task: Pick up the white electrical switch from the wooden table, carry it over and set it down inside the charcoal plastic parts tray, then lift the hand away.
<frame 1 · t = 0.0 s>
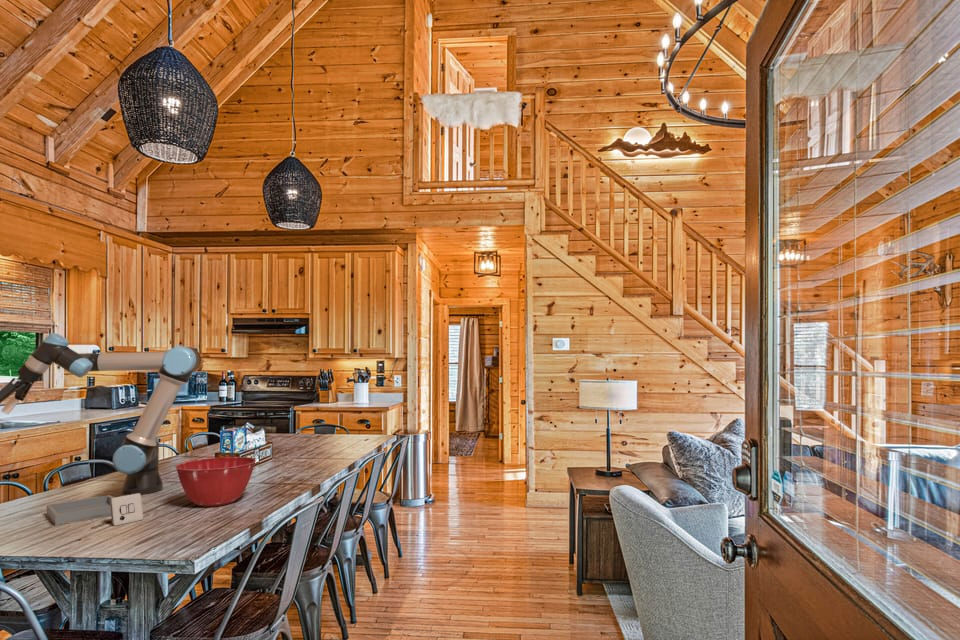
electrical switch: (125, 522, 203), on the table
mixing bowl: (216, 502, 228), on the table
parts tray: (84, 514, 214), on the table
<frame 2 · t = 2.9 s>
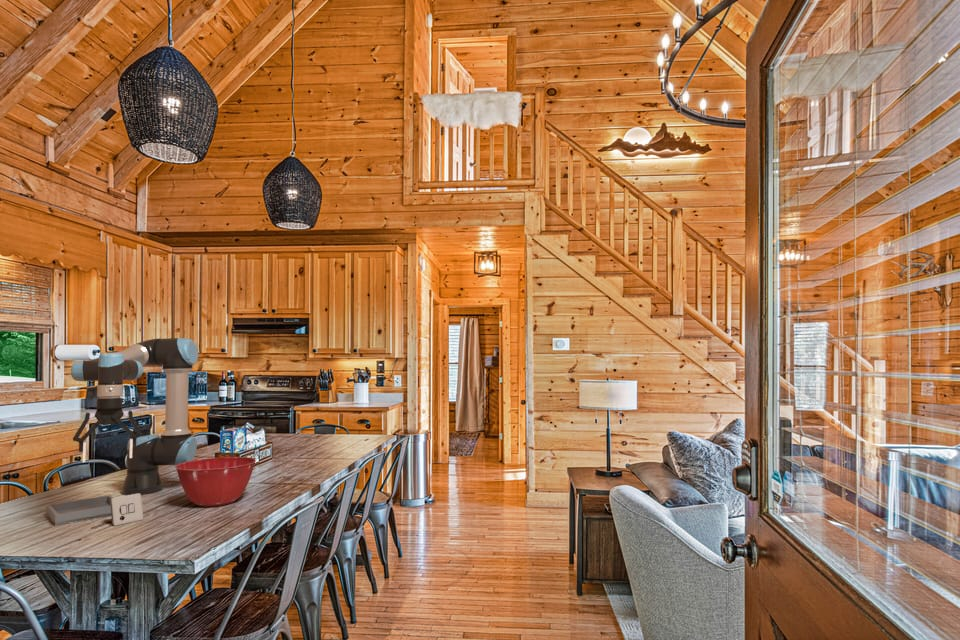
hand: (107, 459, 202), 22 cm above the table, tool pointing down, fingers open, 13 cm apart
nothing on the table moved.
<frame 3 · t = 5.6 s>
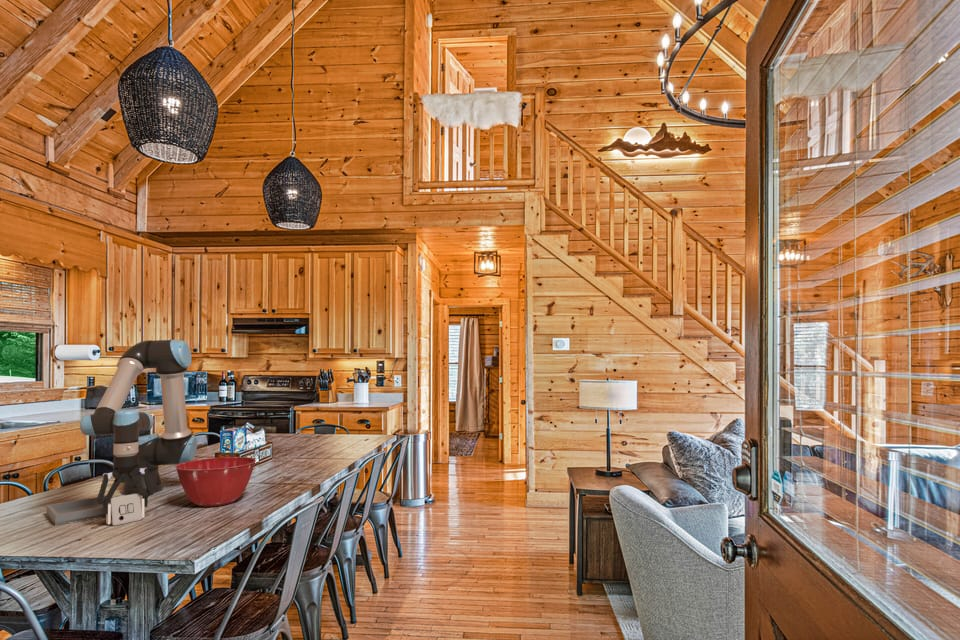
hand: (125, 520, 203), 1 cm above the table, tool pointing down, fingers closed on electrical switch, 9 cm apart
electrical switch: (124, 522, 203), on the table, touching gripper
everything else where it was.
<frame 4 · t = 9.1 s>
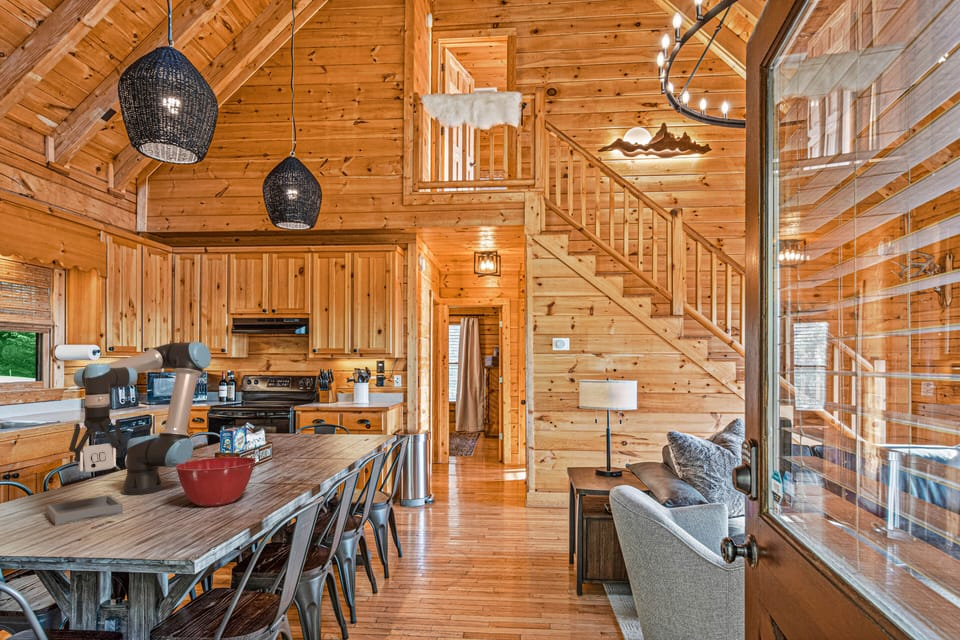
hand: (97, 468, 212), 17 cm above the table, tool pointing down, fingers closed on electrical switch, 9 cm apart
electrical switch: (96, 470, 212), point 16 cm above the table, touching gripper
everything else where it was.
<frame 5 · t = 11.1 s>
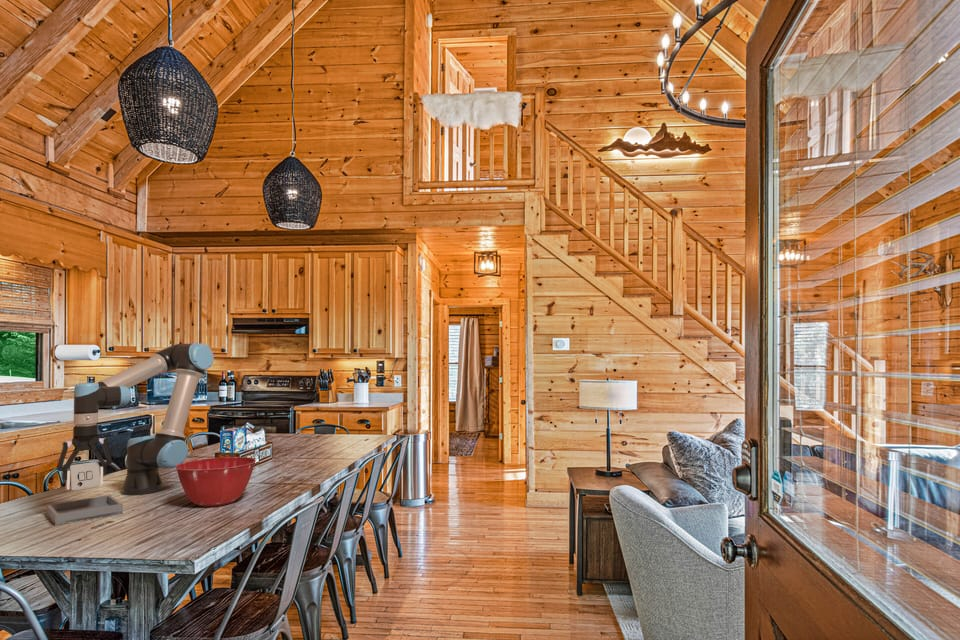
hand: (84, 486, 214), 10 cm above the table, tool pointing down, fingers closed on electrical switch, 9 cm apart
electrical switch: (83, 489, 214), point 9 cm above the table, touching gripper
everything else where it was.
when the fingers open (4 cm above the table, at t = 12.7 s): electrical switch drops 2 cm, resting on parts tray.
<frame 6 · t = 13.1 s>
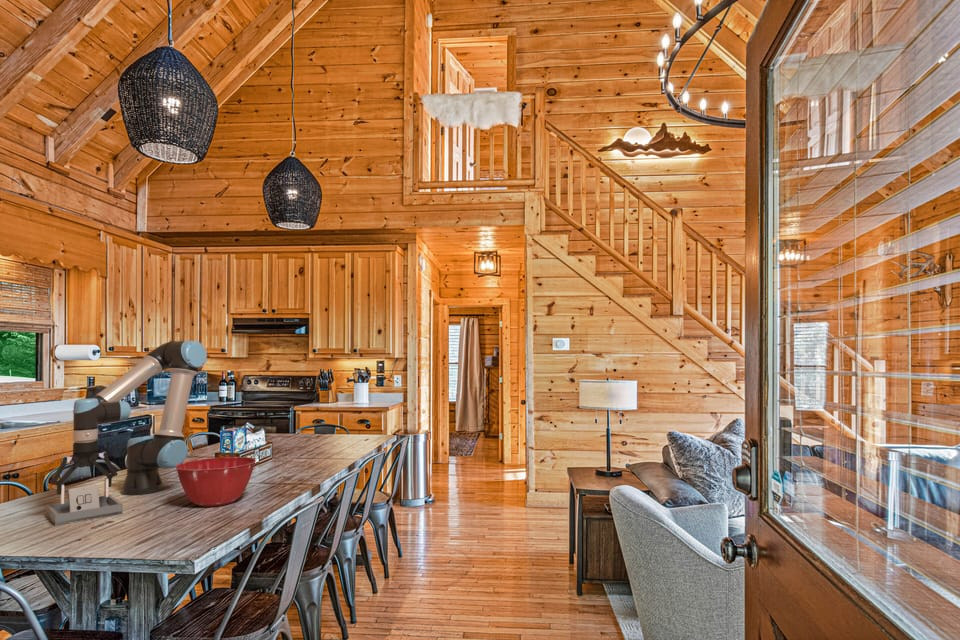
hand: (84, 499, 214), 5 cm above the table, tool pointing down, fingers open, 13 cm apart
electrical switch: (82, 512, 214), point 1 cm above the table, touching parts tray
everything else where it was.
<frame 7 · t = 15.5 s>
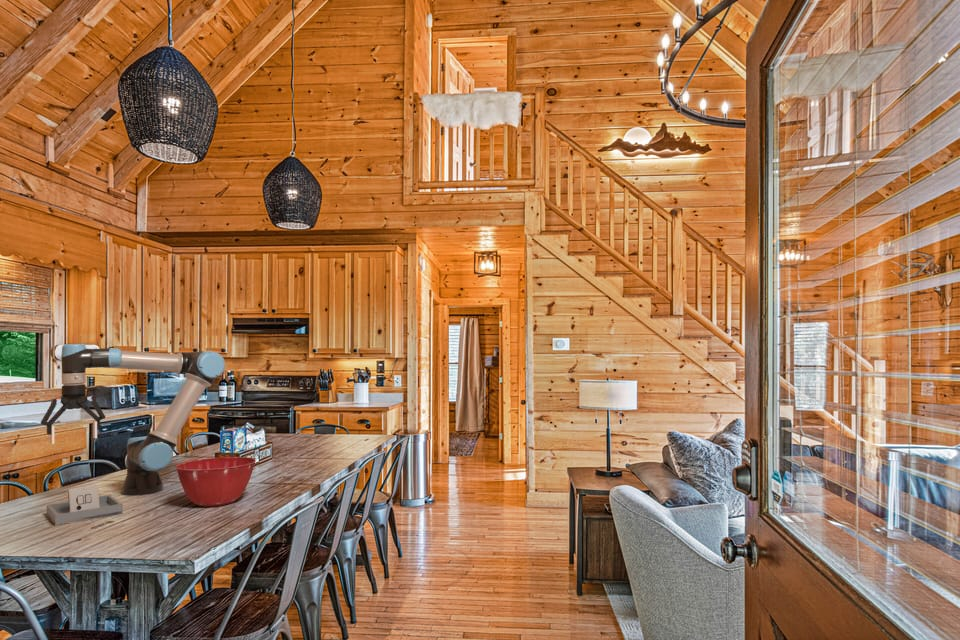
hand: (74, 440, 222), 26 cm above the table, tool pointing down, fingers open, 13 cm apart
nothing on the table moved.
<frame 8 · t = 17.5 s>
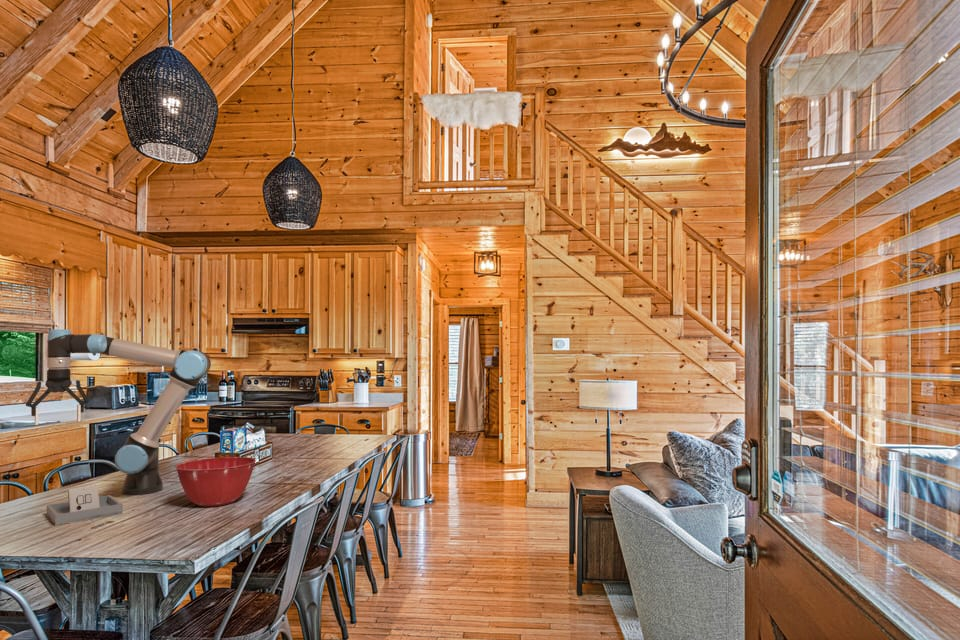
hand: (57, 422, 230), 32 cm above the table, tool pointing down, fingers open, 13 cm apart
nothing on the table moved.
at the end: electrical switch inside the target area on the parts tray (0.7 cm from its centre), point 0.8 cm above the parts tray's base; electrical switch tilted 0°; the gripper is holding nothing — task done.
